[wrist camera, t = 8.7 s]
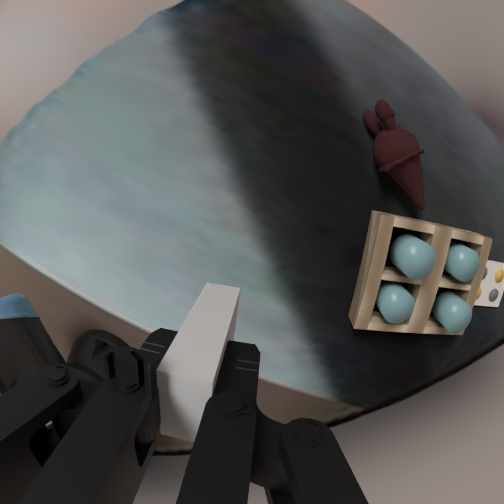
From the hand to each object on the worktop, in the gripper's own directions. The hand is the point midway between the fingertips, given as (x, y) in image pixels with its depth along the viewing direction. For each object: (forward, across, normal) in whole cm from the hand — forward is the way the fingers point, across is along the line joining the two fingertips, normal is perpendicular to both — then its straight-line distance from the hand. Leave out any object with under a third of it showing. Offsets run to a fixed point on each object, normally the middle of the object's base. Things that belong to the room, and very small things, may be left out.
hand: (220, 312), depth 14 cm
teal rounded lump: (+27, +21, -8) cm, 35 cm away
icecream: (+28, +17, +12) cm, 35 cm away
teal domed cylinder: (+25, +30, -8) cm, 40 cm away
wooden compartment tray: (+28, +26, -4) cm, 38 cm away
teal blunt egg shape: (+25, +21, 0) cm, 33 cm away
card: (+28, +41, -4) cm, 49 cm away
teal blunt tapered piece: (+27, +30, 0) cm, 41 cm away
